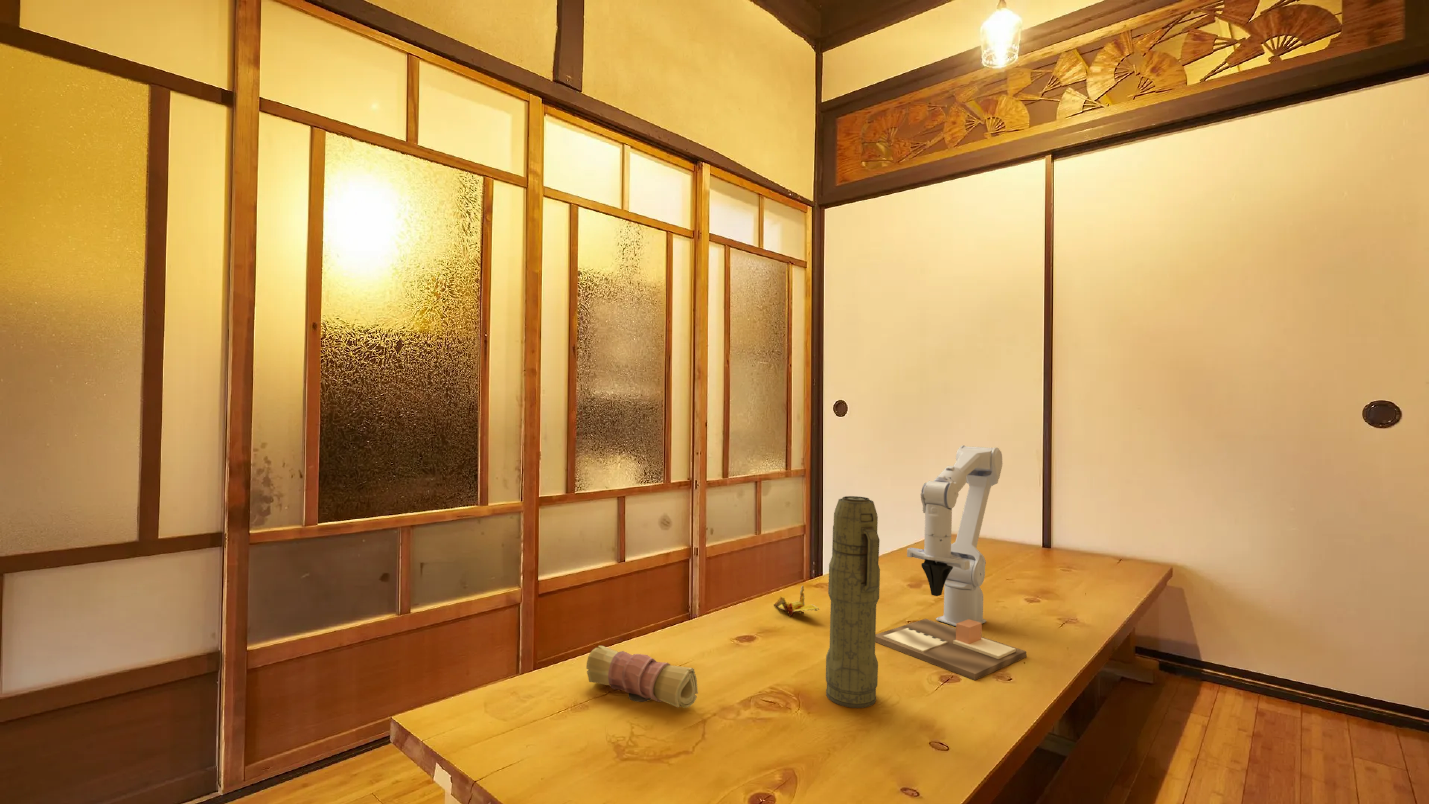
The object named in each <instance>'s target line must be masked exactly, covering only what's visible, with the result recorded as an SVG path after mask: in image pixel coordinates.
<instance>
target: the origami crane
mask: <svg viewBox="0 0 1429 804" xmlns="http://www.w3.org/2000/svg"><path fill="white" fill-rule="evenodd" d="M799 591H800V592H799V594H800V596H799V601H798V600H795V601H792V602H787V601H786V598H785V597H784V596H779V598H778V599H777V601H776V602H775V603H774V604H773V605H774V606H775V607H778V608H779V609H780V610H784V611H785V612H787V614H788V616H789V617H791V618H793V617H794V613H795V612H798V613H799V612H800V614H805V611H815V612H818V611H819V610H820V608H819V607H818V606H816V605H814V604H811V603H809V604H807V605H806V603H805V593H804V591H805V588H804V585H801V587H800V590H799Z"/></svg>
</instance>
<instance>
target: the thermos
mask: <svg viewBox="0 0 1429 804" xmlns="http://www.w3.org/2000/svg"><path fill="white" fill-rule="evenodd" d="M878 517H879V516H878V511H877V510H876V506H875V502H874V500H872V499H870V498H868V497H865V496H853V495H846V496H843V497H842V498H838V501H837V503H836V505H835V508H834V512H833V525H832V545H831V546H832V550H831V551H832V553H831V558H830V561H829V564H828V589H827V590H828V591H827V592H828V596H829V600H830V611H829V612H830V618H829V619H830V620H829V648H828V651H827V653H826V656H825V682H826V689H825V693H826V695H825V696H826V697H827V699H828V700H829V701H831V702H832V703H834V704H836V705H838V706H842V707H846V708H852V709H854V708H855V709H862V708H863V709H864V708H868V707H871V706H873V705H874V704H875V703H876V701H877V687H878V677H879V676H878V675H879V671H878V670H879V662H878V658H877V655H876V642H875V634H877V633H876V629H877V627H876V625H877V604H878V601H879V599H880V584H881V583H880V582H881V581H880V579H881V578H880V577H881V569H880V565H879V561H880V560H879V558H880V557H879V556H880V541H881V540H880V538H879V534H878V522H879V520H878Z"/></svg>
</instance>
